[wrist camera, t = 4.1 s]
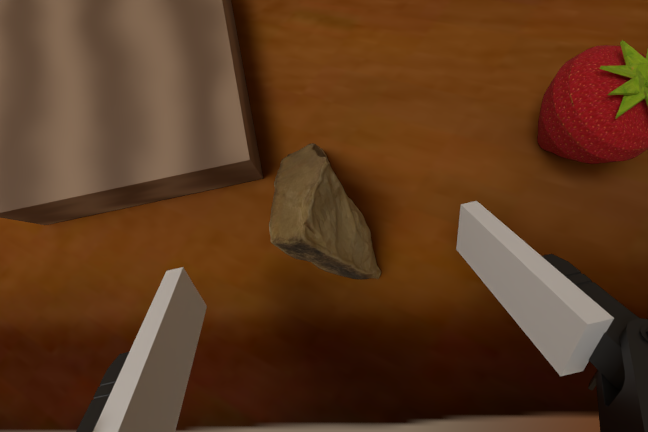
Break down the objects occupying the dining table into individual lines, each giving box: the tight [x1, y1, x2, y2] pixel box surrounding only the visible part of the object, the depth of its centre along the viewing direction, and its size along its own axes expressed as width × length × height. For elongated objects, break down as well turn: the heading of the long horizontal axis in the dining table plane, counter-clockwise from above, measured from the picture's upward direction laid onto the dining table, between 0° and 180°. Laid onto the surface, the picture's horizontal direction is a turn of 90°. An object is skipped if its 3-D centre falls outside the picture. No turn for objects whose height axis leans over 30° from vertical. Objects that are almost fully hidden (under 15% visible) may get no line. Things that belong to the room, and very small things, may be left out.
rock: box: [269, 144, 381, 279], centre depth 20 cm, size 11×9×10 cm
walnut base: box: [0, 0, 263, 225], centre depth 24 cm, size 18×18×4 cm
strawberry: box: [537, 40, 648, 164], centre depth 19 cm, size 6×8×10 cm
